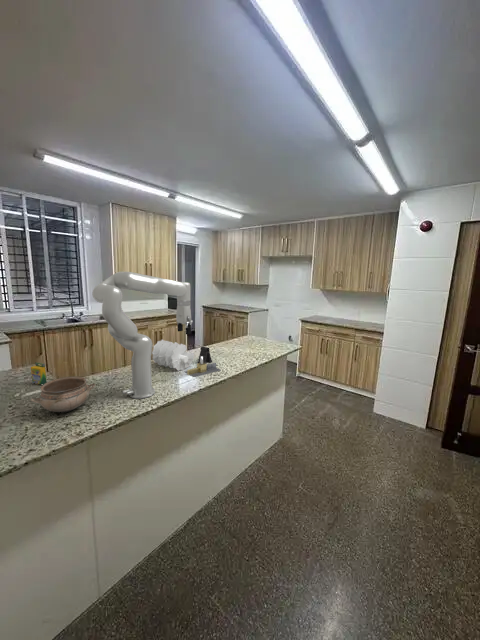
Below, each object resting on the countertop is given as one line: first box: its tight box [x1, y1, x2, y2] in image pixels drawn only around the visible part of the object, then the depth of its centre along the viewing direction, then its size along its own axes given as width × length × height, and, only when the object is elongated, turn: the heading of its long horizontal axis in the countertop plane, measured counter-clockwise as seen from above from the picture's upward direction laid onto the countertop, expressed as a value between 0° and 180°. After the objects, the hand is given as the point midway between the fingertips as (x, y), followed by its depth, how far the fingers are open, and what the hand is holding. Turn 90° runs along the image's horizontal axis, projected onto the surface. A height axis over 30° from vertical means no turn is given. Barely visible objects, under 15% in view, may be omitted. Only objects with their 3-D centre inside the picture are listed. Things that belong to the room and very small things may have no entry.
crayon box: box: [30, 362, 48, 385], centre depth 149 cm, size 7×3×12 cm, turn 73°
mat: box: [184, 367, 222, 378], centre depth 175 cm, size 21×12×1 cm, turn 130°
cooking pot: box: [30, 376, 96, 414], centre depth 122 cm, size 25×19×12 cm
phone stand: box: [196, 345, 213, 365], centre depth 190 cm, size 9×6×12 cm, turn 143°
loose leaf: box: [186, 362, 207, 376], centre depth 172 cm, size 12×4×5 cm, turn 131°
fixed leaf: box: [200, 356, 218, 371], centre depth 177 cm, size 12×3×10 cm, turn 130°
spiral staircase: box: [151, 338, 195, 372], centre depth 180 cm, size 18×18×25 cm
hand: (184, 332), depth 159 cm, fingers open, 9 cm apart
